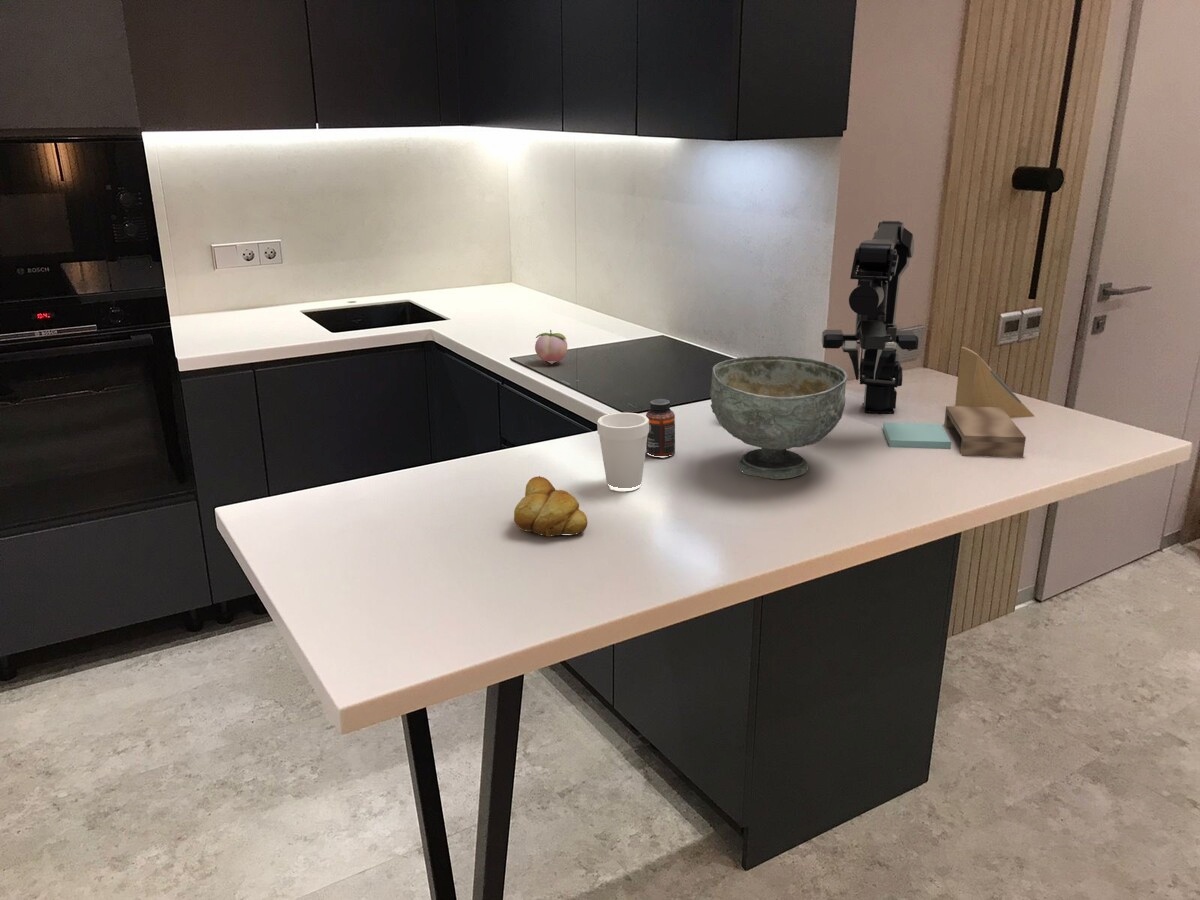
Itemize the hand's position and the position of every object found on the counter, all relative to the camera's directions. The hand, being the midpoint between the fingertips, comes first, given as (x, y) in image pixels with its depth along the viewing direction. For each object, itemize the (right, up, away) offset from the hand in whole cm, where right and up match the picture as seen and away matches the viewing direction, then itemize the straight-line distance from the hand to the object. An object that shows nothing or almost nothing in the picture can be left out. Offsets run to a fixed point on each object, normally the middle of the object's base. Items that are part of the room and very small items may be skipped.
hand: (866, 379), depth 194 cm
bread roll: (-64, -28, -37) cm, 79 cm away
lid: (+11, -13, +3) cm, 17 cm away
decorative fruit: (-69, +9, +69) cm, 98 cm away
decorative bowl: (-21, -18, -12) cm, 31 cm away
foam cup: (-51, -22, -19) cm, 58 cm away
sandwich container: (+34, -6, +18) cm, 39 cm away
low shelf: (+24, -13, 0) cm, 27 cm away
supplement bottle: (-43, -16, -3) cm, 46 cm away
